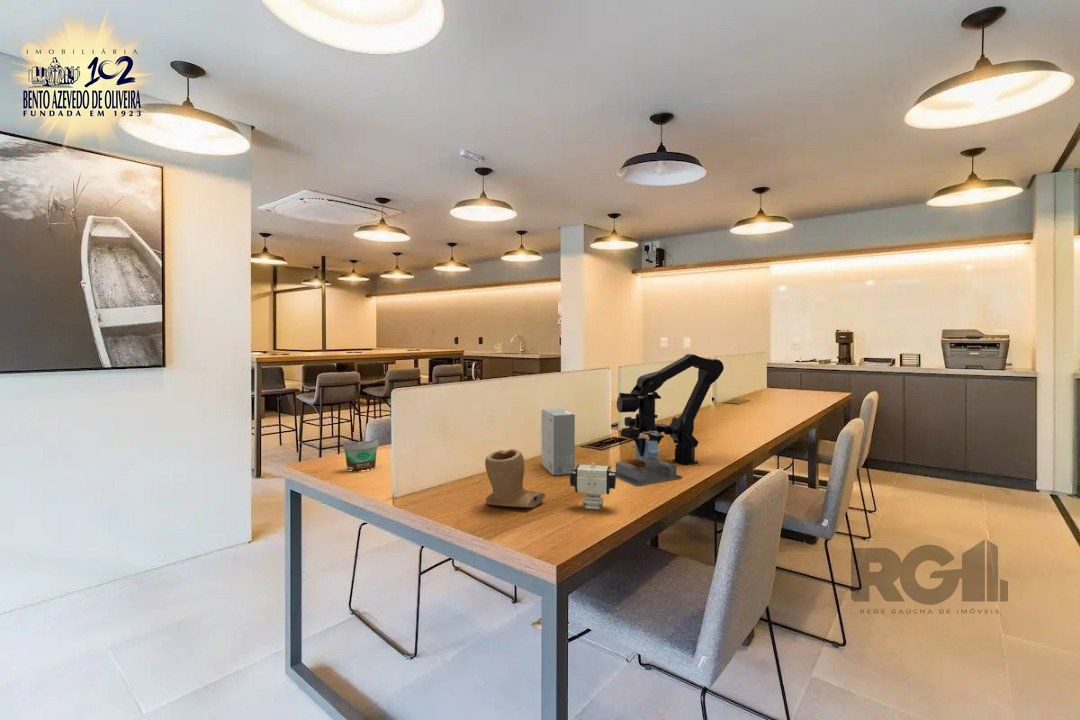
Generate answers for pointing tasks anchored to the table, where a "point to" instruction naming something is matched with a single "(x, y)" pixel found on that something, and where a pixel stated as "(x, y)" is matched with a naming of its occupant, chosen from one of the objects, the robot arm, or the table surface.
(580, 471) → the pneumatic valve
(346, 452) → the food container
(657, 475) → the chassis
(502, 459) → the brown hollow cup shape
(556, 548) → the table surface
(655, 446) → the block
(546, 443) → the hard drive box
